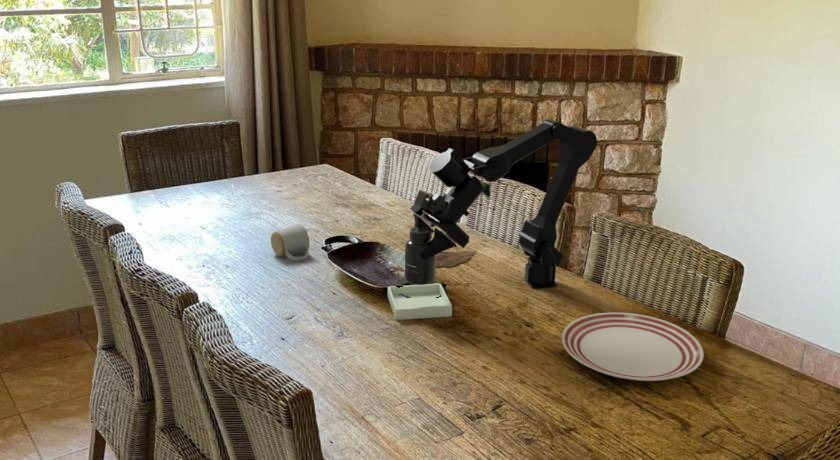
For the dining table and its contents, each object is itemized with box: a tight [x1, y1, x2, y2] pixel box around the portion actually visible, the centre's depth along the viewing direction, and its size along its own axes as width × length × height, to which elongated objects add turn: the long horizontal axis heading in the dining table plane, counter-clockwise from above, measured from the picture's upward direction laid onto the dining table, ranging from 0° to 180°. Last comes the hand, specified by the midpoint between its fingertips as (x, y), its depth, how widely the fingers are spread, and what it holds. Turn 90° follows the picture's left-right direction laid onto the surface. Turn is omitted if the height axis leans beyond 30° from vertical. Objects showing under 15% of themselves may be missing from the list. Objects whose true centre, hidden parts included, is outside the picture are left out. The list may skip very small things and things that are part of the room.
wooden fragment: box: [393, 250, 478, 273], centre depth 202 cm, size 26×11×1 cm, turn 119°
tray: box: [387, 283, 453, 321], centre depth 175 cm, size 13×13×2 cm
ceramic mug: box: [270, 223, 310, 263], centre depth 202 cm, size 11×8×8 cm
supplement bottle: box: [404, 226, 436, 285], centre depth 171 cm, size 7×7×12 cm
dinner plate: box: [561, 312, 705, 382], centre depth 154 cm, size 28×27×3 cm
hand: (414, 253), depth 170 cm, fingers closed on supplement bottle, 7 cm apart
